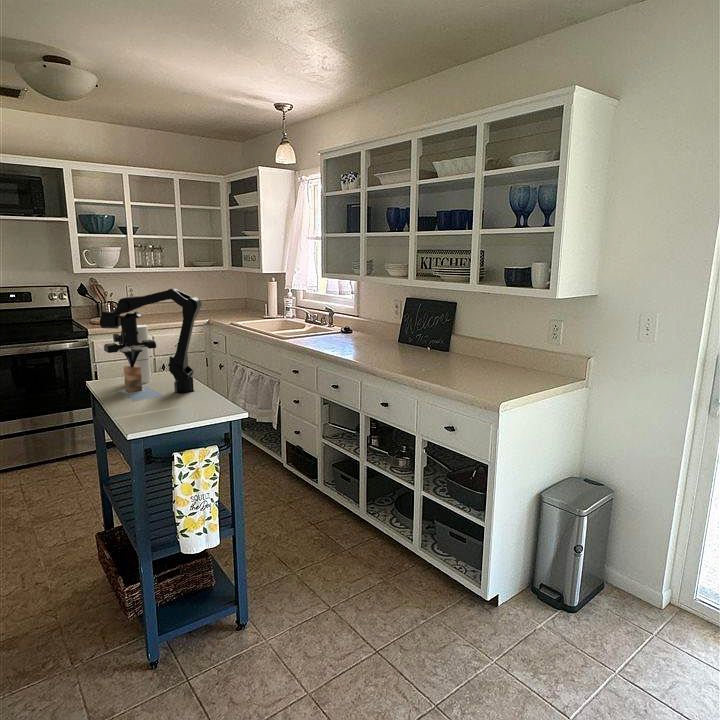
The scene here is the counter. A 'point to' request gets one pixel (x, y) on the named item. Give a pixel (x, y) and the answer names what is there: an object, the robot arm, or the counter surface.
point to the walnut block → (133, 386)
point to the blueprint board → (142, 394)
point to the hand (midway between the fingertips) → (132, 367)
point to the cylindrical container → (143, 355)
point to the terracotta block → (132, 373)
